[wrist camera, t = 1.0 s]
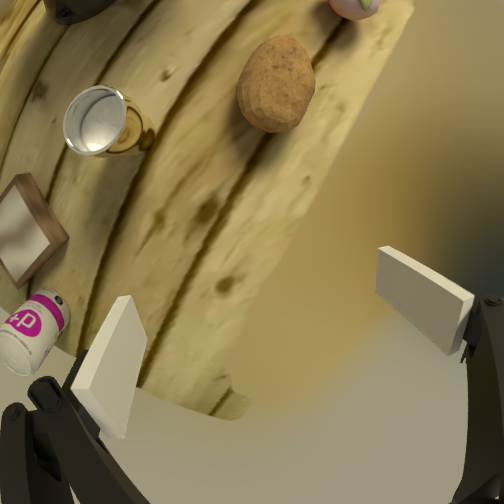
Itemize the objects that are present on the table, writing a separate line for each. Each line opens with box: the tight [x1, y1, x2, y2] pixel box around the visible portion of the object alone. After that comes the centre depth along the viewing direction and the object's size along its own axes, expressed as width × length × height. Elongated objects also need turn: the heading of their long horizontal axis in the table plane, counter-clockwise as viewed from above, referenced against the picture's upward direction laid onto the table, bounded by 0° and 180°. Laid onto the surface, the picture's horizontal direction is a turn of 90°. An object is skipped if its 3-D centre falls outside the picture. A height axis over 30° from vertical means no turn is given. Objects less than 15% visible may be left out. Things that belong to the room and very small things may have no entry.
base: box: [0, 173, 69, 289], centre depth 32 cm, size 13×13×4 cm
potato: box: [236, 35, 316, 133], centre depth 30 cm, size 10×14×8 cm
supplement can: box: [0, 288, 70, 376], centre depth 31 cm, size 8×8×15 cm
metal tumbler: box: [63, 85, 155, 158], centre depth 26 cm, size 7×7×15 cm
